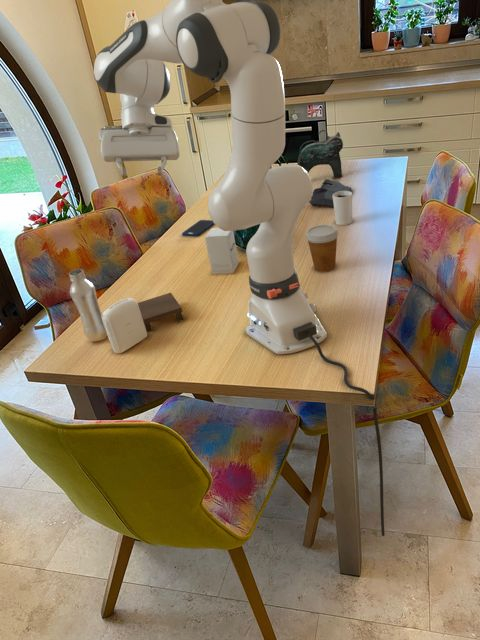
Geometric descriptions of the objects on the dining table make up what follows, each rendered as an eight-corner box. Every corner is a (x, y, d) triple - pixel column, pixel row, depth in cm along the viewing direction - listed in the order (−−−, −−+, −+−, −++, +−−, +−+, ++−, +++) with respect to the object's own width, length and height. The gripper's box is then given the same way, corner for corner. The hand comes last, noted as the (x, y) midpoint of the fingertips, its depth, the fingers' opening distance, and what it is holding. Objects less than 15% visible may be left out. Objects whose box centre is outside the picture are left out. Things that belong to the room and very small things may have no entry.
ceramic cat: (343, 173, 245) (340, 125, 234) (346, 177, 240) (343, 128, 229) (298, 180, 245) (293, 133, 235) (300, 185, 240) (295, 136, 229)
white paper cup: (333, 226, 197) (331, 198, 191) (335, 219, 202) (333, 191, 197) (353, 224, 195) (351, 196, 190) (353, 217, 201) (352, 190, 195)
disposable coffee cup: (346, 262, 171) (343, 225, 164) (331, 276, 165) (328, 238, 158) (318, 259, 176) (315, 222, 169) (303, 272, 170) (299, 235, 163)
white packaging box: (234, 273, 176) (227, 235, 169) (211, 274, 178) (203, 237, 171) (239, 263, 182) (233, 226, 175) (217, 264, 184) (210, 227, 177)
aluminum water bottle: (116, 334, 154) (94, 267, 144) (98, 346, 150) (73, 279, 139) (100, 329, 158) (78, 264, 147) (82, 341, 153) (57, 275, 143)
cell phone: (181, 235, 210) (181, 233, 209) (201, 221, 220) (200, 219, 219) (197, 236, 207) (197, 234, 206) (217, 222, 216) (216, 220, 216)
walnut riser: (184, 320, 156) (181, 307, 153) (146, 332, 153) (142, 320, 151) (173, 304, 164) (170, 292, 162) (137, 316, 161) (133, 303, 159)
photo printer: (119, 355, 145) (105, 314, 138) (110, 351, 147) (95, 310, 140) (150, 336, 151) (138, 295, 144) (140, 332, 153) (128, 292, 146)
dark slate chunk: (304, 209, 215) (302, 197, 212) (315, 190, 232) (314, 178, 229) (344, 208, 210) (343, 195, 207) (353, 188, 227) (352, 176, 224)
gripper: (96, 120, 145) (99, 171, 143) (176, 118, 148) (181, 168, 146) (100, 132, 151) (103, 181, 149) (177, 130, 154) (181, 179, 152)
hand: (142, 175), depth 148 cm, fingers open, 8 cm apart
